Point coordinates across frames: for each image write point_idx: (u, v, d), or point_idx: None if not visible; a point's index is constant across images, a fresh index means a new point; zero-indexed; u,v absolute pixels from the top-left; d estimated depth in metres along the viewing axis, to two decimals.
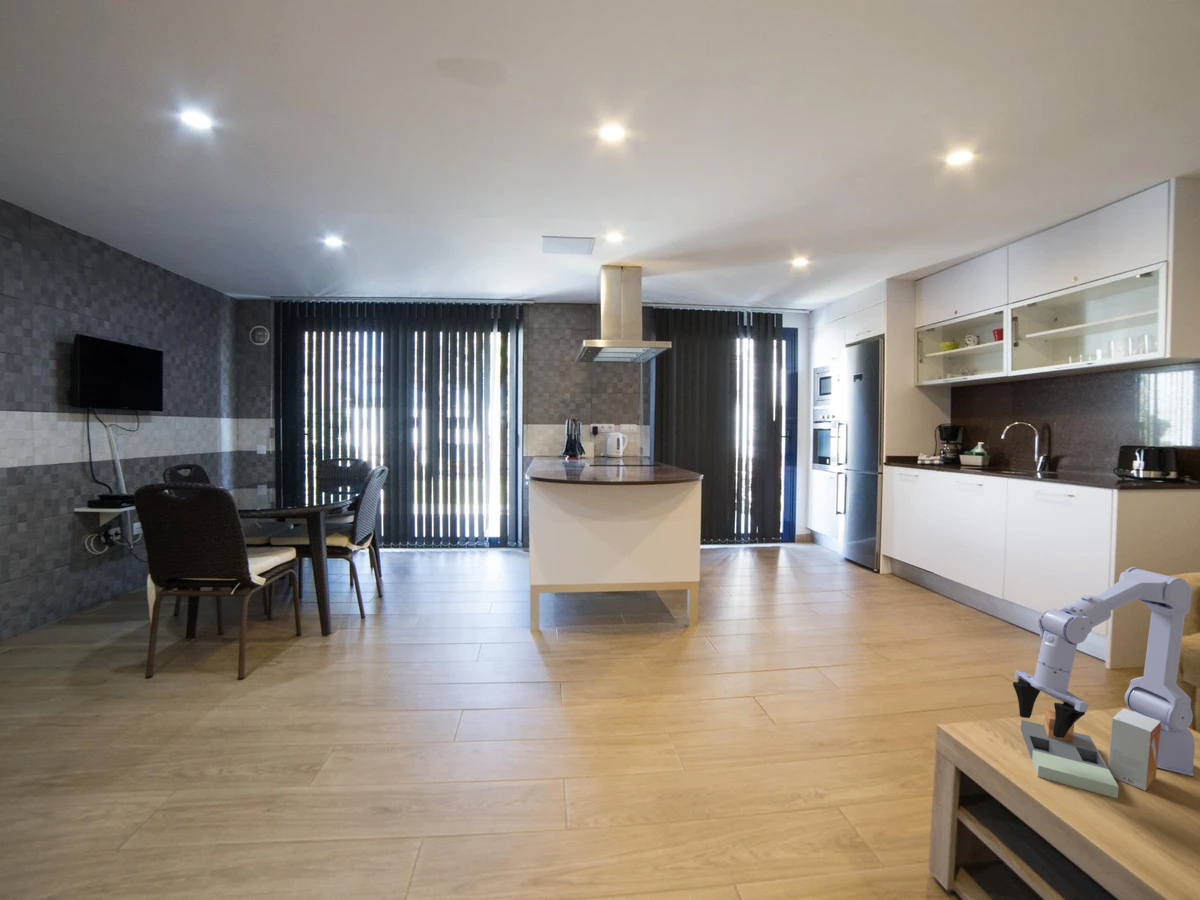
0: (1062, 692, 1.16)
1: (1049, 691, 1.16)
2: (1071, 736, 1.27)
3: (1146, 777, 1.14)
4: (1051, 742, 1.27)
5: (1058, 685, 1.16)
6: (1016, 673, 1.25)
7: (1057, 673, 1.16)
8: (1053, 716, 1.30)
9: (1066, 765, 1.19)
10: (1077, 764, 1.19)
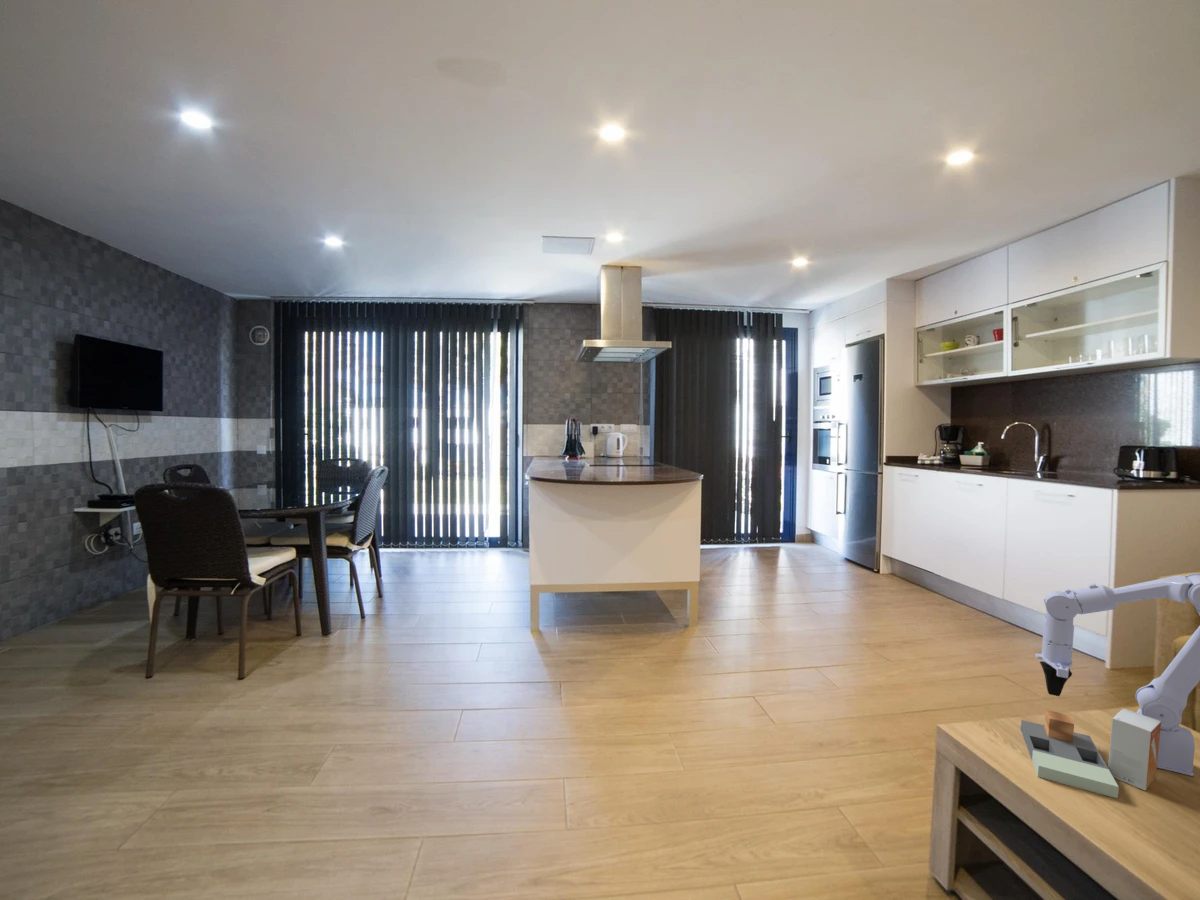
0: (1057, 662, 1.33)
1: (1045, 660, 1.35)
2: (1071, 736, 1.27)
3: (1146, 777, 1.14)
4: (1051, 742, 1.27)
5: (1052, 655, 1.34)
6: None
7: (1050, 645, 1.34)
8: (1053, 716, 1.30)
9: (1066, 765, 1.19)
10: (1077, 764, 1.19)
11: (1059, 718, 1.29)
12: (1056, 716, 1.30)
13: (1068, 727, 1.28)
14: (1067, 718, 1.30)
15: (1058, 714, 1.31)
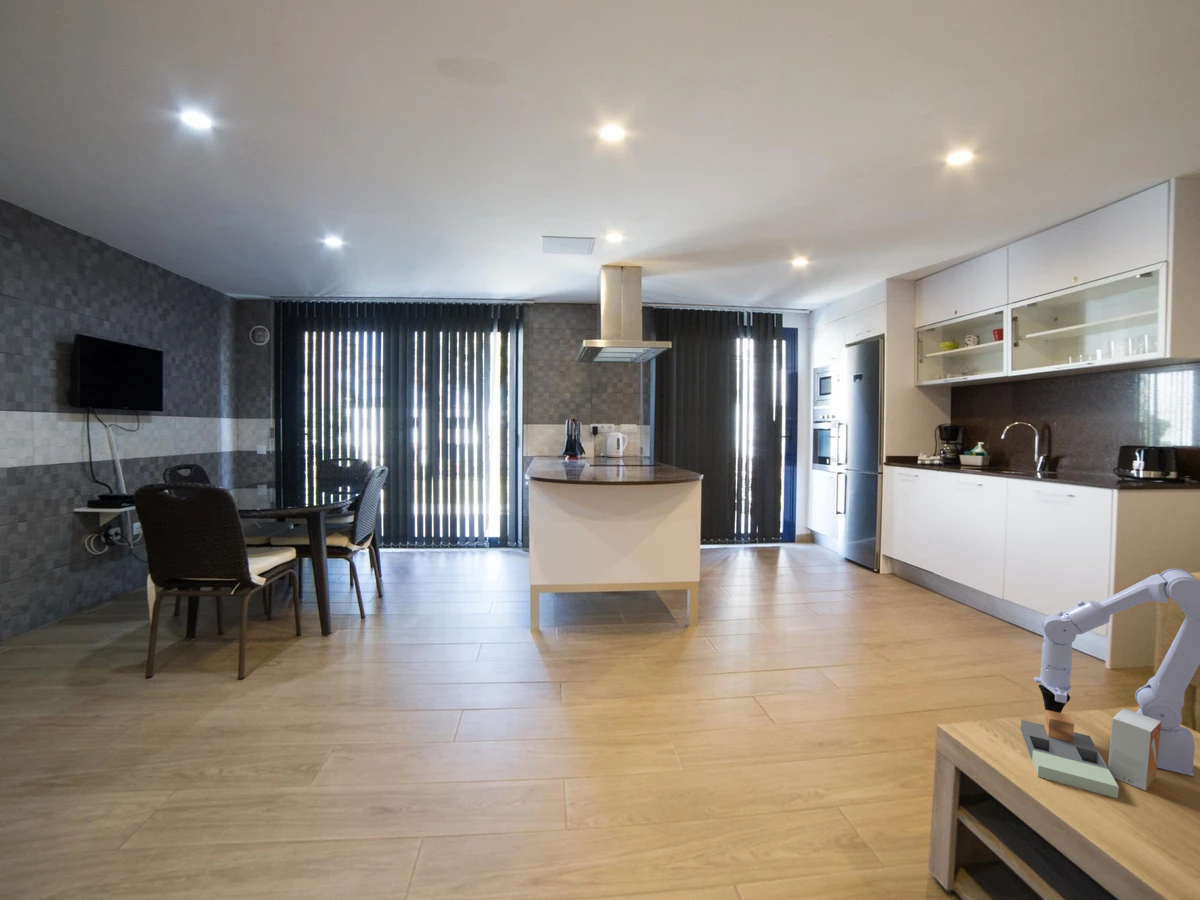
0: (1055, 686, 1.33)
1: (1043, 684, 1.35)
2: (1071, 736, 1.27)
3: (1146, 777, 1.14)
4: (1051, 742, 1.27)
5: (1051, 679, 1.34)
6: None
7: (1048, 669, 1.34)
8: (1053, 716, 1.30)
9: (1066, 765, 1.19)
10: (1077, 764, 1.19)
11: (1059, 718, 1.29)
12: (1056, 716, 1.30)
13: (1068, 727, 1.28)
14: (1067, 718, 1.30)
15: (1058, 714, 1.31)
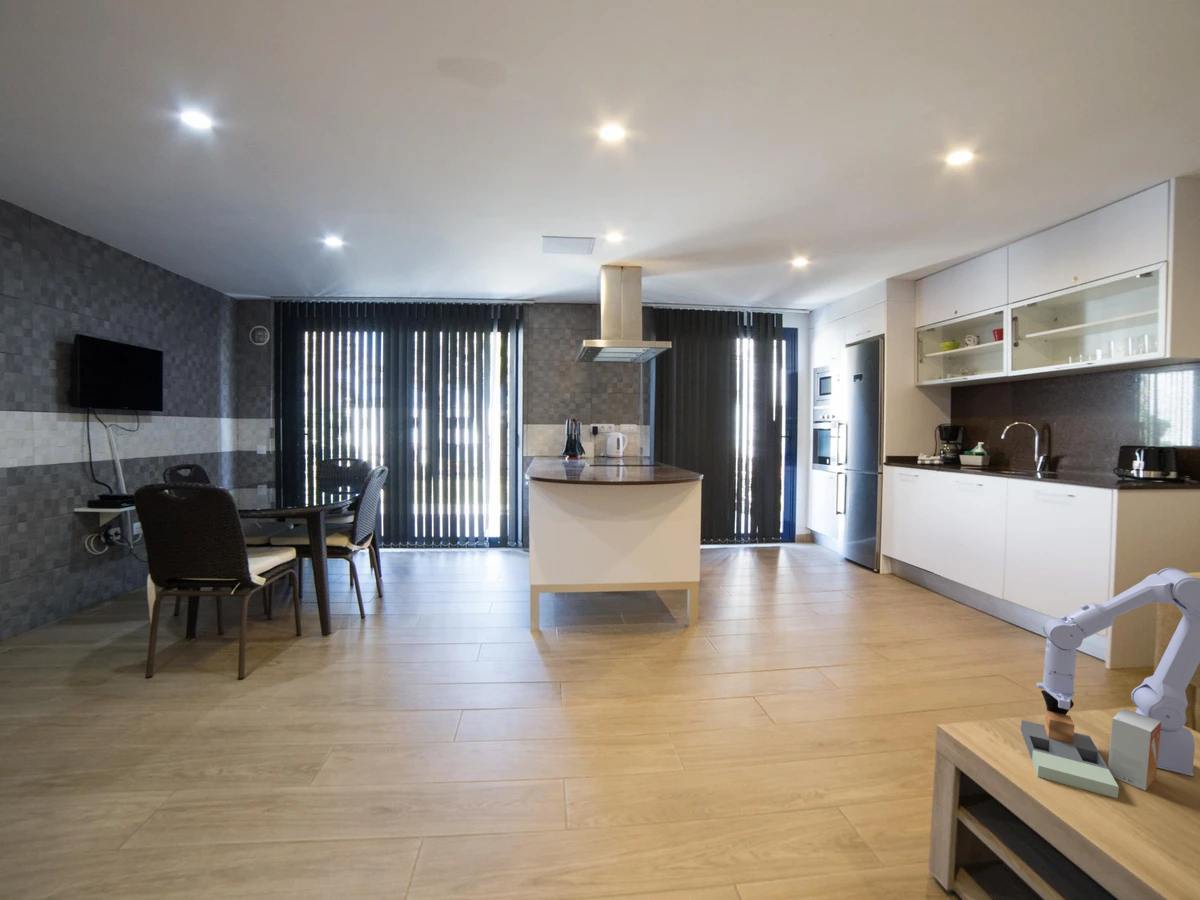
0: (1058, 692, 1.30)
1: (1046, 690, 1.32)
2: (1071, 737, 1.27)
3: (1146, 777, 1.14)
4: (1051, 742, 1.27)
5: (1054, 685, 1.31)
6: None
7: (1051, 675, 1.31)
8: (1053, 717, 1.30)
9: (1066, 765, 1.19)
10: (1077, 764, 1.19)
11: (1059, 719, 1.29)
12: (1057, 717, 1.30)
13: (1069, 728, 1.27)
14: (1067, 719, 1.29)
15: (1058, 714, 1.31)
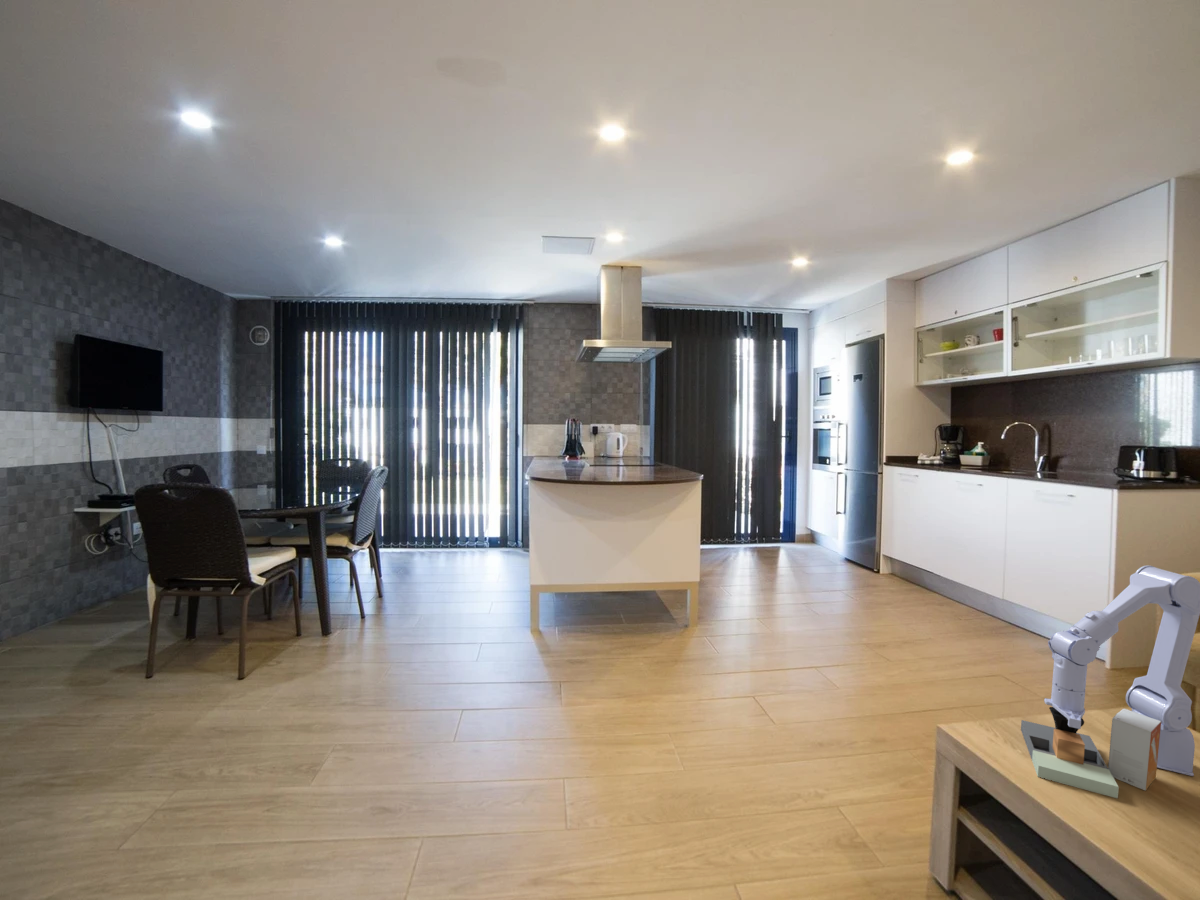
0: (1068, 710, 1.22)
1: (1054, 707, 1.24)
2: (1081, 758, 1.19)
3: (1146, 777, 1.14)
4: (1051, 742, 1.27)
5: (1063, 702, 1.23)
6: None
7: (1061, 691, 1.23)
8: (1062, 736, 1.22)
9: (1066, 765, 1.19)
10: (1077, 764, 1.19)
11: (1068, 738, 1.21)
12: (1066, 735, 1.22)
13: (1079, 748, 1.19)
14: (1077, 738, 1.21)
15: (1067, 733, 1.23)
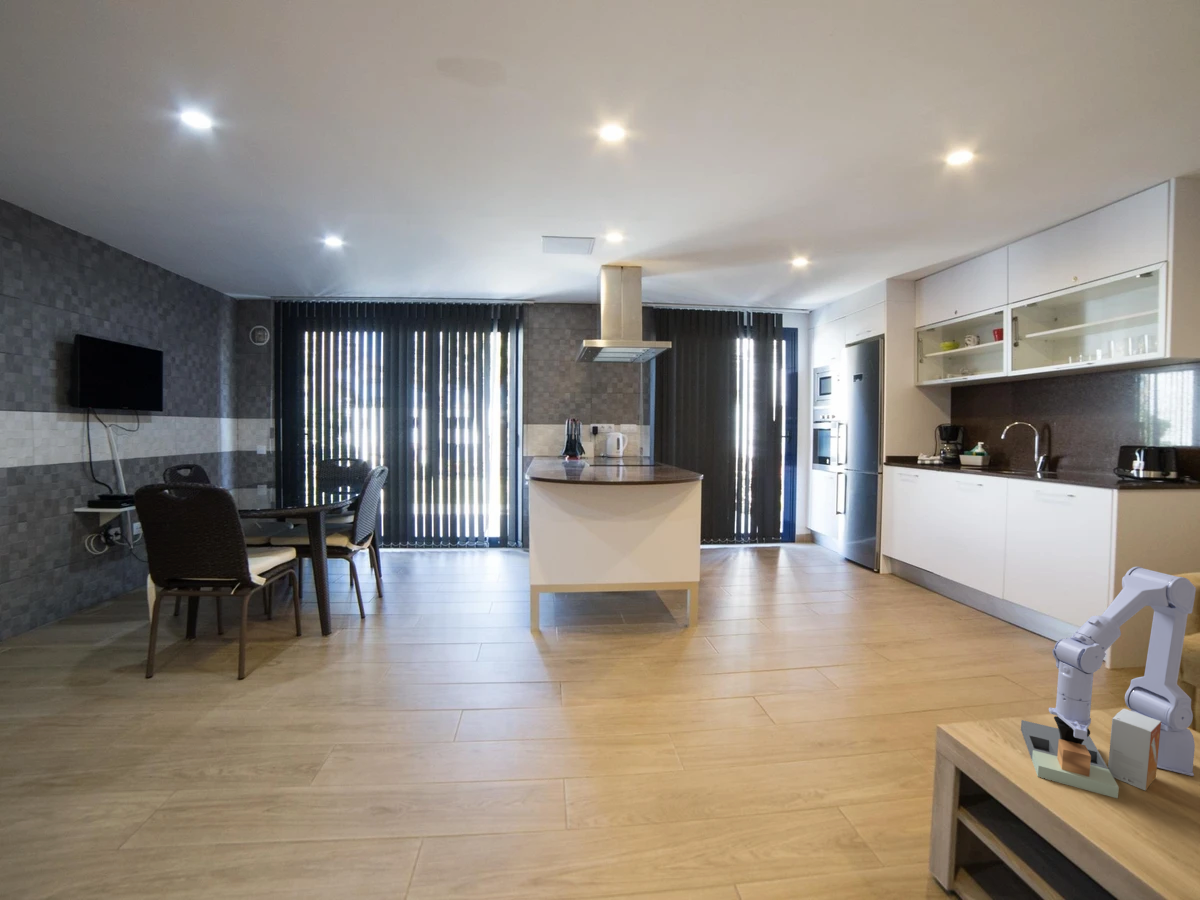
0: (1074, 720, 1.18)
1: (1059, 717, 1.20)
2: (1087, 770, 1.15)
3: (1146, 777, 1.14)
4: (1051, 742, 1.27)
5: (1068, 711, 1.19)
6: None
7: (1066, 700, 1.19)
8: (1067, 747, 1.18)
9: None
10: None
11: (1074, 749, 1.17)
12: (1071, 746, 1.18)
13: (1085, 759, 1.15)
14: (1083, 749, 1.17)
15: (1072, 744, 1.19)
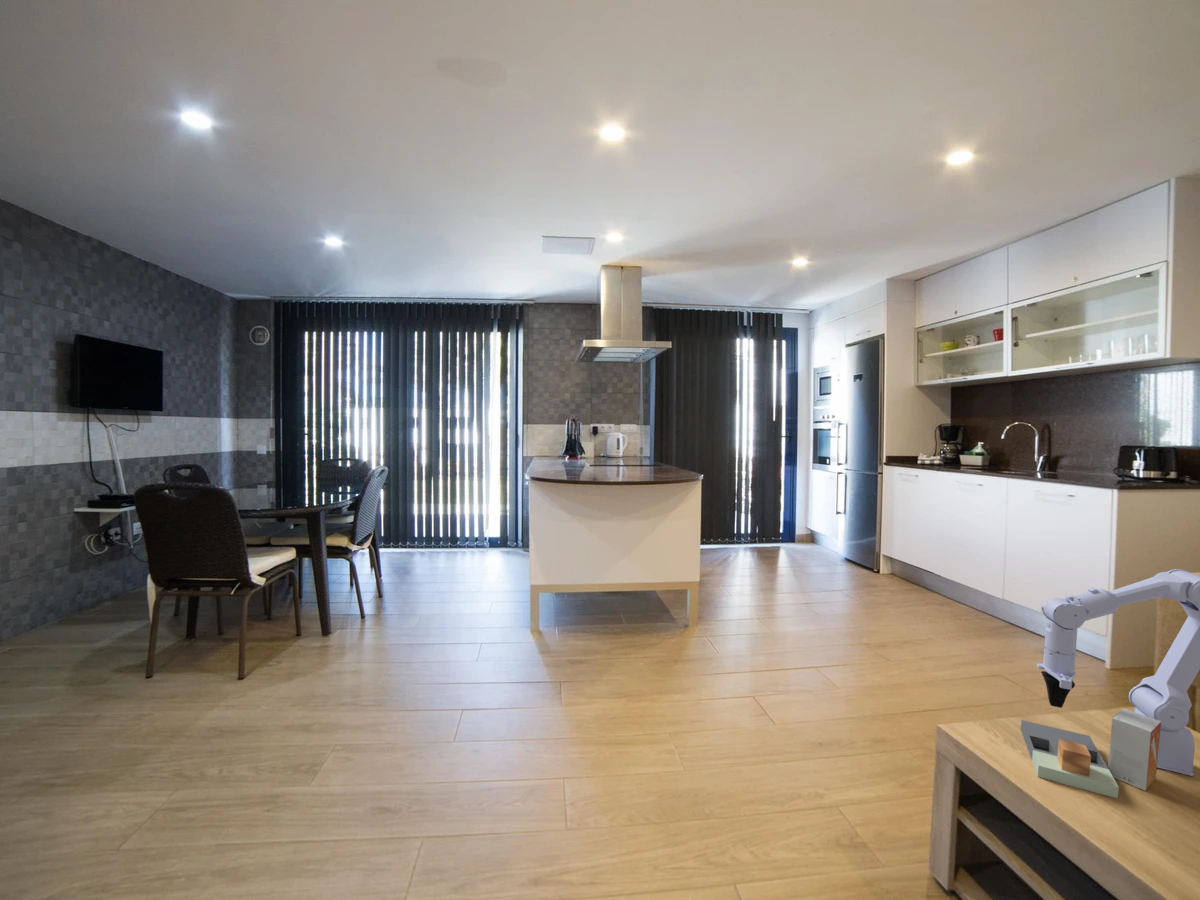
0: (1059, 672, 1.28)
1: (1046, 670, 1.29)
2: (1087, 770, 1.15)
3: (1146, 777, 1.14)
4: (1051, 742, 1.27)
5: (1054, 665, 1.28)
6: None
7: (1052, 655, 1.29)
8: (1067, 747, 1.18)
9: None
10: None
11: (1074, 749, 1.17)
12: (1071, 746, 1.18)
13: (1085, 759, 1.15)
14: (1083, 749, 1.17)
15: (1072, 744, 1.19)
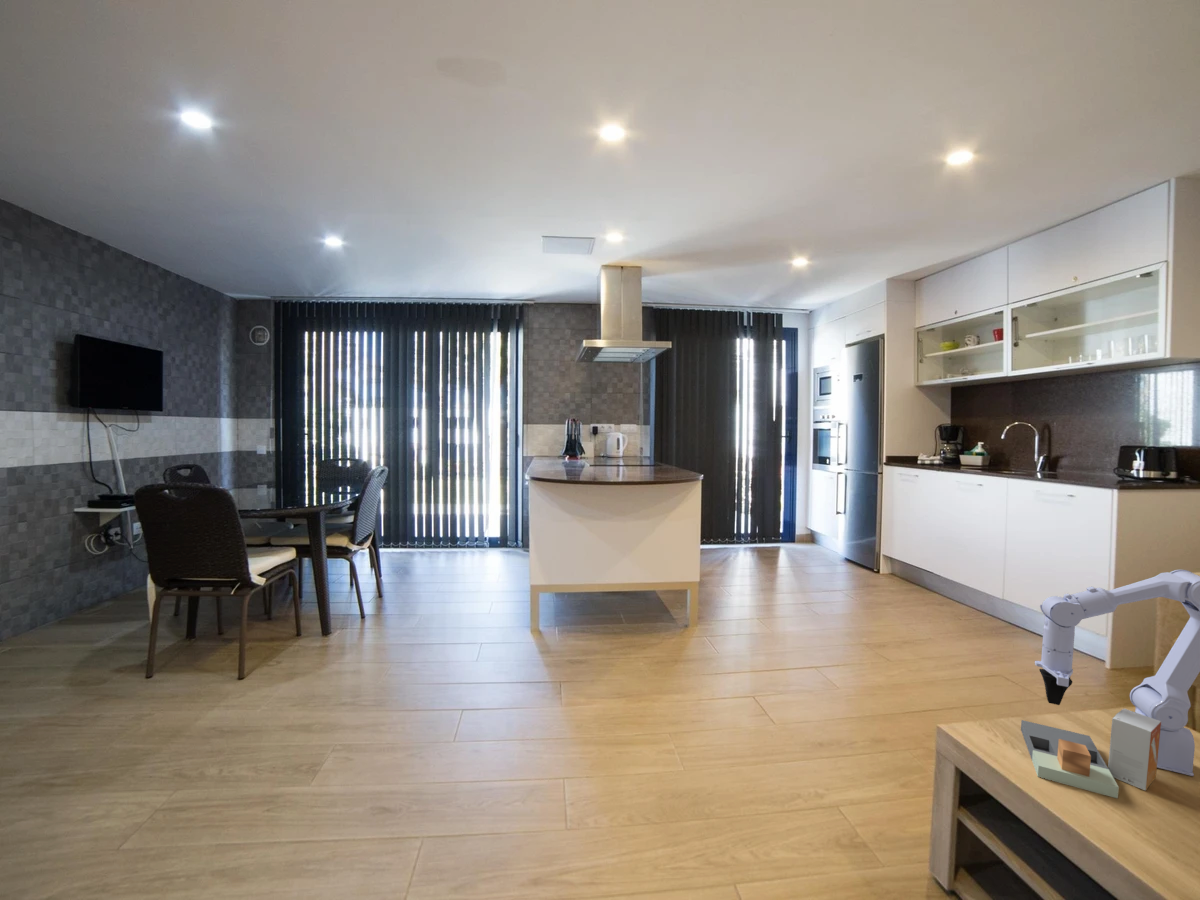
0: (1057, 670, 1.29)
1: (1044, 668, 1.31)
2: (1087, 770, 1.15)
3: (1146, 777, 1.14)
4: (1051, 742, 1.27)
5: (1052, 663, 1.30)
6: None
7: (1050, 652, 1.30)
8: (1067, 747, 1.18)
9: None
10: None
11: (1074, 749, 1.17)
12: (1071, 746, 1.18)
13: (1085, 759, 1.15)
14: (1083, 749, 1.17)
15: (1072, 744, 1.19)
